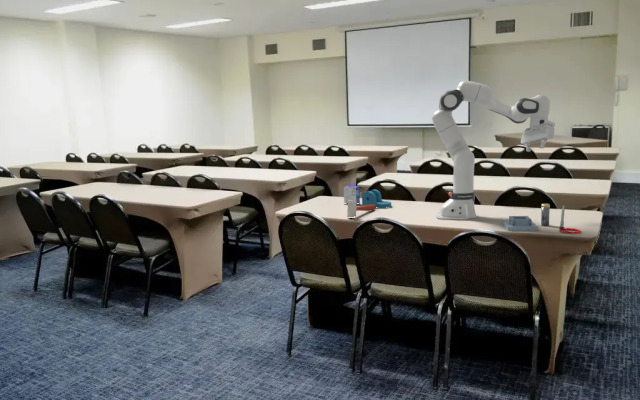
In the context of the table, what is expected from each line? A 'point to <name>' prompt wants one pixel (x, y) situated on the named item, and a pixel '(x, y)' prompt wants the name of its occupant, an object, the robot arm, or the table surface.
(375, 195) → the camera mount
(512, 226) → the block
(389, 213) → the table surface
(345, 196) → the ink cartridge box
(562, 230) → the tow hook
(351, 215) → the mallet
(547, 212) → the key rod
